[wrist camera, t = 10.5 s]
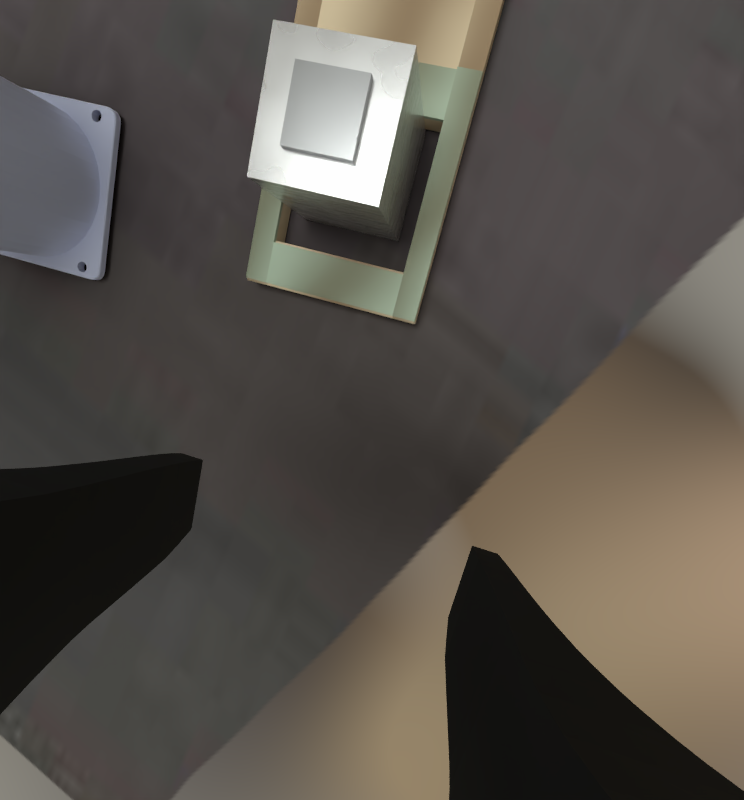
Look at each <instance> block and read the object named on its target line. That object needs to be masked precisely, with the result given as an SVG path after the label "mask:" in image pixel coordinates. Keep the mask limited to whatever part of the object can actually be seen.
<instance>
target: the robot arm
mask: <svg viewBox="0 0 744 800" xmlns="http://www.w3.org/2000/svg"><path fill="white" fill-rule="evenodd" d="M99 115H101V120H100V121H98V118H99ZM120 127H121V118H120V116H119V114H118V113H117V112H116V111H115V110H113V109H111V108H109V107H107V106H102V105H98V104H93V103H89V102H84V101H80V100H75V99H71V98H66V97H62V96H57V95H53V94H48V93H44V92H39V91H35V90H30V89H26V88H22V87H20V86H18V85H16V84H14V83H13V82H11V81H9V80H7V79H5V78H4V77H2V76H0V254H1V255H5V256H8V257H12V258H15V259H19V260H23V261H26V262H30V263H33V264H37V265H40V266H44V267H48V268H51V269H55V270H58V271H62V272H66V273H69V274H73V275H76V276H80V277H84V278H87V279H91V280H100V279H102V278H103V277H104V274H105V267H106V257H107V248H108V239H109V230H110V220H111V211H112V202H113V192H114V183H115V174H116V164H117V155H118V146H119V137H120ZM85 264H86V267H87V269H86V271H85V270H84V265H85ZM202 462H203V460H201V459H198V458H195V457H191V456H188V455H185V454H181V453H171V454H158V455H148V456H140V457H132V458H124V459H116V460H108V461H100V462H91V463H81V464H71V465H61V466H51V467H38V468H21V469H0V714H1V713H2V712H3V711H4V710H5V709H6V708H7V707H8V705H9V704H10V703H11V702H12V701H13V700H14V699H15V698H16V697H17V696H18V695H19V694H20V693H21V691H22V690H23V689H24V688H25V687H26V686H27V685H28V684H29V683H30V682H31V681H32V680H33V679H34V678H35V677H36V676H37V675H38V674H39V673H40V672H41V671H42V670H43V668H44V667H45V666H46V665H47V664H48V663H49V662H50V661H51V660H52V659H53V658H54V657H55V656H56V655H57V654H58V653H59V652H60V651H61V650H62V649H63V648H64V647H65V646H66V645H67V644H68V643H69V642H70V641H71V640H72V639H73V638H74V637H75V636H76V635H77V634H79V633H80V632H81V631H82V630H83V629H84V628H85V627H86V626H87V625H88V624H89V623H91V622H92V621H93V620H94V619H95V618H97V617H98V616H99V615H100V614H101V613H102V612H104V611H105V610H106V609H107V608H108V607H109V606H111V605H112V604H113V603H114V602H115V601H116V600H118V599H119V598H120V597H121V596H122V595H124V594H125V593H126V592H127V591H128V590H129V589H131V588H132V587H133V586H134V585H135V584H136V583H138V582H139V581H140V580H141V579H142V578H143V577H145V576H146V575H147V574H148V573H149V572H150V571H151V570H153V569H154V568H155V567H156V566H157V565H158V564H159V563H161V562H162V561H163V560H164V559H165V558H166V557H167V556H168V555H169V554H170V553H171V552H172V550H173V549H174V548H175V547H176V546H177V545H178V544H179V543H180V542H181V540H182V539H183V538H184V537H185V536H186V535H187V533H188V532H189V531H190V530H191V528H192V522H193V516H194V510H195V504H196V498H197V492H198V486H199V480H200V474H201V468H202ZM445 667H446V668H445V670H446V694H447V695H446V696H447V718H448V741H449V761H450V762H449V763H450V764H449V765H450V766H449V767H450V794H449V800H744V791H743V790H741V789H740V788H738V787H737V786H736V785H735V784H733V783H732V782H731V781H729V780H728V779H727V778H725V777H724V776H722V775H721V774H720V773H719V772H717V771H716V770H714V769H713V768H712V767H710V766H709V765H707V764H706V763H705V762H704V761H702V760H701V759H700V758H699V757H697V756H696V755H695V754H693V753H692V752H691V751H690V750H689V749H687V748H686V747H685V746H683V745H682V744H681V743H680V742H678V741H677V740H676V739H675V738H673V737H672V736H671V735H670V734H669V733H667V732H666V731H665V730H664V729H663V728H662V727H660V726H659V725H658V724H657V723H656V722H655V721H653V720H652V719H651V718H650V717H649V716H647V715H646V714H645V713H644V712H643V711H642V710H640V709H639V708H638V707H637V706H636V705H635V704H633V703H632V702H631V701H630V700H629V699H628V698H627V697H626V696H624V695H623V694H622V693H621V692H620V691H619V690H618V689H617V688H616V687H615V686H614V685H613V684H612V683H611V682H610V681H609V680H607V679H606V678H605V677H604V676H603V675H602V674H601V673H600V672H599V671H598V670H597V669H596V668H595V667H594V666H593V665H592V664H591V663H590V662H589V661H588V660H587V659H586V658H585V657H584V656H583V655H582V654H581V653H580V652H579V651H578V650H577V649H576V648H575V647H574V645H573V644H572V643H571V642H570V641H569V640H568V639H567V638H566V637H565V635H564V634H563V633H562V632H561V631H560V630H559V629H558V628H557V627H556V625H555V624H554V623H553V622H552V621H551V619H550V618H549V617H548V616H547V615H546V614H545V612H544V611H543V610H542V609H541V608H540V606H539V605H538V604H537V603H536V601H535V600H534V599H533V598H532V596H531V595H530V594H529V593H528V591H527V590H526V589H525V588H524V586H523V585H522V584H521V583H520V581H519V580H518V578H517V577H516V576H515V575H514V573H513V572H512V571H511V569H510V568H509V567H508V566H507V565H506V563H505V562H504V561H503V560H502V558H501V557H500V556H499V555H498V554H496V553H493V552H490V551H487V550H484V549H481V548H477V547H474V546H472V548H471V551H470V554H469V557H468V560H467V563H466V566H465V569H464V572H463V575H462V578H461V581H460V584H459V587H458V590H457V593H456V596H455V599H454V602H453V605H452V608H451V611H450V614H449V617H448V627H447V638H446V652H445Z"/></svg>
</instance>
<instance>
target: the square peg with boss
mask: <svg viewBox="0 0 744 800" xmlns="http://www.w3.org/2000/svg"><path fill="white" fill-rule="evenodd" d="M425 135H426V132H425V122H424V113H423V103H422V94H421V84H420V75H419V65H418V56H417V46H416V45H411V44H405V43H400V42H394V41H389V40H383V39H378V38H372V37H367V36H361V35H356V34H350V33H345V32H339V31H334V30H328V29H323V28H317V27H311V26H306V25H300V24H295V23H289V22H284V21H278V20H273V24H272V30H271V36H270V42H269V48H268V54H267V60H266V66H265V72H264V78H263V84H262V90H261V96H260V102H259V108H258V114H257V120H256V126H255V132H254V138H253V144H252V150H251V156H250V161H249V167H248V173H247V177H248V178H250V179H251V180H252V181H254V182H255V183H256V184H258V185H259V186H261V187H262V188H263V189H265V190H266V191H267V192H269V193H270V194H271V195H273V196H274V197H276V198H277V199H278V200H280V201H281V202H282V203H284V204H285V205H287V206H288V207H289V208H291V209H292V210H293V211H295V212H296V213H298V214H299V215H300V216H302V217H303V218H304V219H306V220H310V221H314V222H318V223H323V224H327V225H331V226H335V227H339V228H344V229H348V230H352V231H356V232H360V233H365V234H369V235H373V236H377V237H381V238H386V239H390V240H394V241H398V242H399V239H400V235H401V231H402V227H403V223H404V219H405V215H406V211H407V207H408V203H409V199H410V195H411V191H412V187H413V183H414V179H415V175H416V171H417V167H418V163H419V159H420V155H421V151H422V147H423V143H424V139H425Z"/></svg>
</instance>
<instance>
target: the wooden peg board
mask: <svg viewBox="0 0 744 800" xmlns="http://www.w3.org/2000/svg"><path fill="white" fill-rule="evenodd" d="M504 1H505V0H298V4H297V10H296V15H295V21H294V23H295V24H300V25H306V26H311V27H317V28H323V29H328V30H334V31H339V32H345V33H350V34H356V35H361V36H367V37H372V38H378V39H383V40H389V41H394V42H400V43H405V44H411V45H416V46H417V56H418V65H419V75H420V84H421V94H422V103H423V113H424V122H425V129H427V130H432V131H437V132H440V136H439V140H438V143H437V147H436V151H435V155H434V159H433V163H432V166H431V170H430V174H429V178H428V182H427V185H426V189H425V193H424V197H423V201H422V205H421V208H420V212H419V216H418V220H417V224H416V228H415V231H414V235H413V239H412V243H411V247H410V250H409V254H408V258H407V262H406V266H405V270H404V273H403V272H399V271H395V270H391V269H387V268H383V267H379V266H375V265H371V264H367V263H363V262H359V261H355V260H351V259H347V258H343V257H339V256H335V255H332V254H328V253H324V252H320V251H316V250H312V249H308V248H304V247H300V246H296V245H292V244H288V243H285V238H286V233H287V228H288V223H289V218H290V213H291V208H289V207H288V206H287V205H285V204H284V203H282V202H281V201H280V200H278V199H277V198H276V197H274V196H273V195H271V194H270V193H269V192H267V191H266V190H265V189H263V188H262V190H261V196H260V202H259V207H258V213H257V218H256V224H255V229H254V235H253V240H252V246H251V251H250V257H249V262H248V268H247V273H246V277H247V278H248V279H247V280H250V281H254V282H258V283H261V284H265V285H269V286H273V287H276V288H280V289H284V290H288V291H291V292H295V293H299V294H303V295H306V296H310V297H314V298H318V299H322V300H325V301H329V302H333V303H337V304H340V305H344V306H348V307H352V308H355V309H359V310H363V311H367V312H370V313H374V314H378V315H382V316H386V317H389V318H393V319H397V320H401V321H404V322H408V323H412V324H416V321H417V317H418V314H419V310H420V306H421V303H422V299H423V295H424V292H425V288H426V285H427V281H428V277H429V274H430V270H431V266H432V263H433V259H434V255H435V252H436V248H437V245H438V241H439V237H440V234H441V230H442V226H443V223H444V219H445V216H446V212H447V208H448V205H449V201H450V197H451V194H452V190H453V186H454V183H455V179H456V176H457V172H458V168H459V165H460V161H461V157H462V154H463V150H464V146H465V143H466V139H467V136H468V132H469V128H470V125H471V121H472V117H473V114H474V110H475V106H476V103H477V99H478V96H479V92H480V88H481V85H482V81H483V77H484V74H485V70H486V66H487V63H488V59H489V56H490V52H491V48H492V45H493V41H494V37H495V34H496V30H497V27H498V23H499V19H500V16H501V12H502V8H503V5H504Z"/></svg>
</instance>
